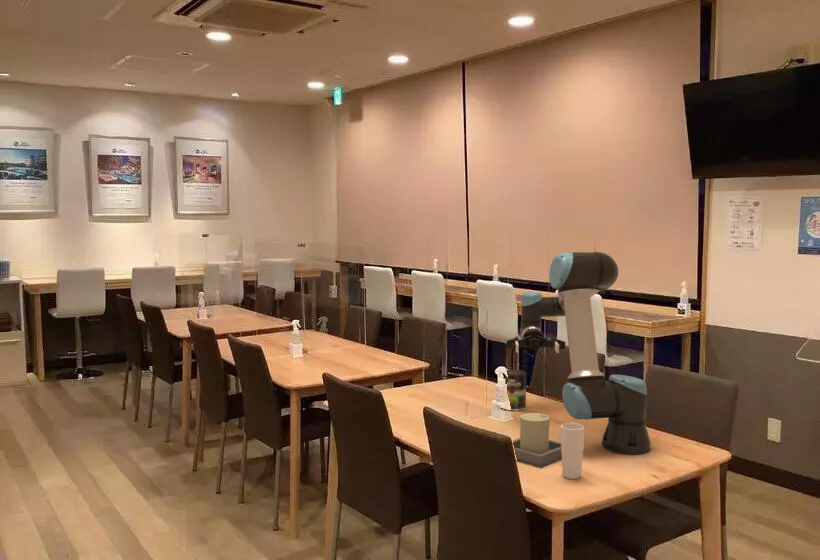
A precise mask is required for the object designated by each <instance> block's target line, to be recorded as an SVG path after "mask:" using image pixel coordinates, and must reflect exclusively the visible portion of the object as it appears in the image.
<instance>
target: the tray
mask: <svg viewBox="0 0 820 560" xmlns="http://www.w3.org/2000/svg"><path fill="white" fill-rule="evenodd" d="M512 441H513V445H514V450H515V455H516V458H517V461H516V462H519V463H522V462H523V463H522V464H526V465H529V466H532V465H533V467H536V468H539V467H540V469H542V468H544V467H546V466H548V465H551V464H554V463H556V462H558V461H560V460H561V461H562V453H561V442H559V441H555V440H551V439H549V451H548V452H546V453H543V454H541V455H539V454H536V453H532V452H529V451H525V450H521V449H520V437H519V438H516V439H513V440H512Z"/></svg>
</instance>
